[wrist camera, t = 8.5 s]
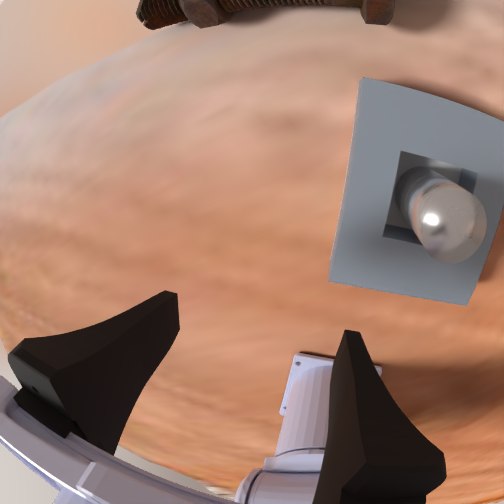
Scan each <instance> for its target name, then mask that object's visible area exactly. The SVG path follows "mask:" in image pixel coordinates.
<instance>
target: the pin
mask: <svg viewBox="0 0 504 504" xmlns="http://www.w3.org/2000/svg"><path fill="white" fill-rule="evenodd" d="M395 202H396V205H397V207H398V209H399V211H400V212H401V214H402V215H403V216H404V218H405V219H406V221H407V222H408V224H409V225H410V226H411V228H412V229H413V231H414V232H415V234H416V235H417V237H418V238H419V240H420V241H421V243H422V244H423V246H424V247H425V249H426V250H427V252H428V253H429V255H430V256H431V257H433V258H434V259H435V260H437V261H439V262H441V263H445V264H454V263H459V262H462V261H464V260H466V259H467V258H469V257H470V256H471V255H473V254H474V253H475V252H476V251H477V249H478V248H479V246H480V245H481V243H482V241H483V239H484V236H485V233H486V227H487V219H486V213H485V210H484V207H483V205H482V204H481V202H480V201H479V200H478V199H477V197H475V196H474V195H473V194H471V193H470V192H468V191H467V190H465V189H463V188H462V187H460V186H459V185H457V184H456V183H454V182H452V181H451V180H449V179H447V178H446V177H444V176H442V175H441V174H439V173H437V172H436V171H434V170H432V169H430V168H427V167H422V166H419V167H414V168H411V169H409V170H407V171H406V172H405V173H403V175H402V176H401V177H400V178H399V180H398V182H397V184H396V187H395Z"/></svg>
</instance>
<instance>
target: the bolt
mask: <svg viewBox="0 0 504 504" xmlns="http://www.w3.org/2000/svg"><path fill="white" fill-rule="evenodd" d="M311 2H312V3H313V4H314V5H316V4H317V2H318V3H319V4H323V2H324V3H325V4H332V5H334V6H352V7H360V10H361V15H362V17H363V19H364V21H365V23H366V24H377V25H387V24H388V23H389V22H390V20H391V19H392V16H393V12H394V0H140V2H139V5H138V8H137V12H136V15H137V18H138V19H139V20H140V21H141V22H143V21H144V20H145V21H144V24H143V25H144V26H145V27H146V28H148V29H151V30H155V29H158V28H162V27H165V26H169V25H172V24H176V23H179V22H183V21H188V20H189V21H190V22H192V23H193V24H194V25H196V26H198V27H199V28H206V27H211V26H217V25H220V24H222V23H224V22H226V21H228V20H230V18H231V17H232V14H233V11H238V10H240V11H242V10H243V9H245V10H248V9H249V8H250V9H254V8H260V6H261V7H262V8H264V7H266V6H267V7H271V5H272V6H273V7H276V6H277V5H278V6H282V5H283V4H284V5H285V6H287V5H288V4H290V5H293V4H294V3H295V4H296V5H299V4H300V3H301V4H302V5H305V3H307V4H308V5H310V4H311Z"/></svg>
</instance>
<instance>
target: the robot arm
mask: <svg viewBox="0 0 504 504" xmlns="http://www.w3.org/2000/svg"><path fill="white" fill-rule="evenodd" d="M179 330H180V325H179V311H178V296H177V293H173V292H169V291H163V292H161V293H159V294H157V295H155V296H153V297H151V298H150V299H148V300H146V301H144V302H142V303H140V304H138V305H137V306H135V307H133V308H131V309H129V310H127V311H125V312H123V313H121V314H119V315H117V316H114V317H112V318H110V319H108V320H106V321H103V322H101V323H98V324H95V325H92V326H90V327H87V328H83V329H80V330H76V331H72V332H69V333H64V334H59V335H53V336H47V337H37V338H25V339H24V340H23V341H21V342H20V343H19V344H18V345H17V346H16V347H15V348H14V349H13V350H12V351H11V352H10V353H9V354H8V362H9V364H10V366H11V368H12V370H13V372H14V374H15V375H16V377H17V379H18V381H19V382H20V384H21V385H22V388H21V389H20V390H19V391H18V389H17V388H16V387H15V386H14V385H12V384H11V383H10V382H9V381H7V380H6V379H5V378H4V377H3V376H0V442H1V443H2V444H3V445H4V446H5V447H6V448H7V449H8V450H9V451H10V452H12V453H13V454H14V455H15V456H16V457H17V458H18V459H19V460H21V461H22V462H23V463H24V464H25V465H27V466H28V467H29V468H30V469H31V470H33V471H34V472H35V473H36V474H38V475H39V476H40V477H42V478H43V479H44V480H45V481H46V482H48V483H49V484H50V485H52V486H53V487H55V488H56V489H57V490H59V491H60V493H59V494H58V496H57V497H56V499H55V500H54V502H53V504H426V495H427V494H429V493H430V492H431V491H433V490H434V489H436V488H437V487H438V486H440V485H441V484H442V483H443V482H444V481H445V479H446V477H447V475H446V464H445V458H444V453H443V452H442V451H441V450H439V449H438V448H437V447H436V446H435V445H434V444H432V443H431V442H430V441H429V440H428V439H427V438H426V437H425V436H424V435H423V434H422V433H421V432H420V431H419V430H418V429H417V428H416V427H415V426H414V425H413V424H412V423H411V422H410V420H409V419H408V418H407V417H406V416H405V414H404V413H403V412H402V411H401V409H400V408H399V407H398V405H397V404H396V403H395V401H394V400H393V398H392V397H391V395H390V393H389V392H388V390H387V388H386V387H385V385H384V383H383V381H382V380H381V378H380V376H381V374H382V367H380V366H375V365H374V364H373V362H372V360H371V357H370V355H369V353H368V351H367V348H366V346H365V343H364V341H363V339H362V336H361V334H360V332H357V331H351V330H345V331H344V334H343V337H342V340H341V343H340V345H339V348H338V351H337V354H336V357H335V359H330V358H325V357H319V356H314V355H308V354H303V353H297V354H295V355H294V359H293V363H292V367H291V371H290V375H289V378H288V382H287V386H286V390H285V393H284V397H283V401H282V404H281V408H280V414H281V415H284V419H283V424H282V428H281V432H280V436H279V440H278V444H277V448H276V452H275V455H274V457H266V459H265V462H264V465H263V468H257V469H254V470H252V471H251V472H250V473H249V474H248V475H247V476H246V477H245V478H244V479H243V481H242V482H241V484H240V485H239V488H238V490H237V493H236V496H235V500H234V501H230V500H227V499H223V498H219V497H216V496H213V495H209V494H206V493H203V492H200V491H197V490H194V489H191V488H188V487H185V486H182V485H179V484H177V483H174V482H171V481H169V480H166V479H163V478H161V477H158V476H156V475H154V474H151V473H149V472H147V471H144V470H142V469H140V468H138V467H135V466H133V465H131V464H129V463H127V462H125V461H123V460H121V459H119V458H116V457H115V456H114V453H115V450H116V448H117V445H118V442H119V440H120V437H121V434H122V432H123V430H124V427H125V425H126V423H127V420H128V418H129V416H130V414H131V412H132V409H133V407H134V405H135V403H136V401H137V399H138V397H139V395H140V393H141V392H142V390H143V388H144V386H145V385H146V383H147V381H148V380H149V379H150V377H151V376H152V374H153V373H154V371H155V370H156V368H157V367H158V366H159V364H160V363H161V361H162V360H163V358H164V357H165V355H166V354H167V352H168V351H169V349H170V348H171V346H172V344H173V342H174V340H175V338H176V336H177V334H178V332H179ZM298 362H300V363H298Z"/></svg>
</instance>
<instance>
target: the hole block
mask: <svg viewBox="0 0 504 504" xmlns="http://www.w3.org/2000/svg"><path fill="white" fill-rule="evenodd" d="M419 166H422V167H427V168H430V169H432V170H434V171H436V172H437V173H439V174H441V175H442V176H444V177H446V178H447V179H449V180H451V181H452V182H454V183H456V184H457V185H459V186H460V187H462V188H463V189H465V190H467V191H468V192H470V193H471V194H473V195H474V196H475V197H477V199H478V200H479V201H480V202H481V204H482V205H483V207H484V210H485V213H486V219H487V227H486V233H485V236H484V239H483V241H482V243H481V245H480V246H479V248H478V249H477V251H476V252H475V253H474V254H473V255H471V256H470V257H469V258H467V259H466V260H464V261H462V262H459V263H454V264H445V263H441V262H439V261H437V260H435V259H434V258H433V257H431V256H430V255H429V253H428V252H427V250H426V249H425V247H424V246H423V244H422V243H421V241H420V240H419V238H418V237H417V235H416V234H415V232H414V231H413V229H412V228H411V226H410V225H409V224H408V222H407V221H406V219H405V218H404V216H403V215H402V214H401V212H400V211H399V209H398V207H397V205H396V202H395V187H396V184H397V182H398V180H399V178H400V177H401V176H402V175H403V173H405V172H406V171H407V170H409V169H411V168H414V167H419ZM503 207H504V121H502V120H499V119H497V118H495V117H492V116H490V115H488V114H485V113H483V112H480V111H478V110H475V109H473V108H470V107H467V106H465V105H462V104H459V103H456V102H453V101H451V100H448V99H445V98H442V97H438V96H435V95H432V94H429V93H425V92H422V91H419V90H415V89H411V88H408V87H404V86H400V85H396V84H392V83H388V82H383V81H379V80H374V79H370V78H365V77H363V78H362V79H361V80H360V82H359V83H358V91H357V100H356V109H355V117H354V125H353V132H352V140H351V147H350V153H349V160H348V166H347V173H346V179H345V185H344V190H343V196H342V202H341V207H340V213H339V218H338V223H337V228H336V233H335V238H334V243H333V248H332V252H331V257H330V268H329V282H334V283H340V284H345V285H350V286H356V287H361V288H367V289H372V290H378V291H383V292H389V293H394V294H400V295H406V296H411V297H417V298H423V299H428V300H434V301H440V302H446V303H452V304H457V305H463V306H467V304H468V302H469V300H470V298H471V296H472V293H473V291H474V289H475V286H476V284H477V282H478V279H479V277H480V274H481V272H482V269H483V267H484V264H485V262H486V259H487V256H488V254H489V251H490V248H491V245H492V242H493V239H494V236H495V233H496V230H497V227H498V224H499V221H500V217H501V214H502V210H503Z"/></svg>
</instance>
